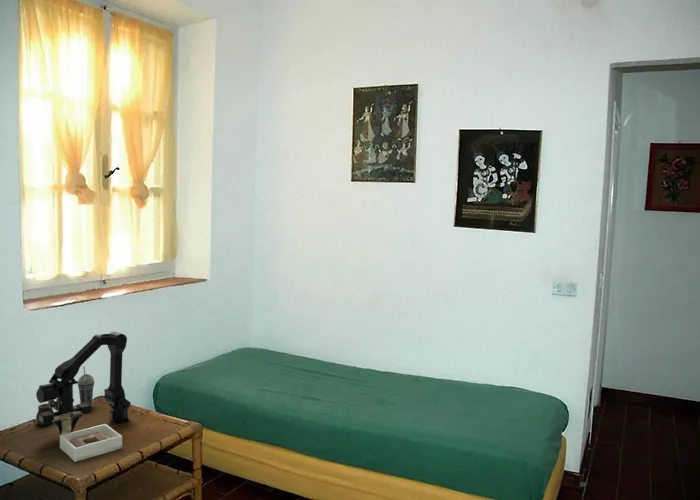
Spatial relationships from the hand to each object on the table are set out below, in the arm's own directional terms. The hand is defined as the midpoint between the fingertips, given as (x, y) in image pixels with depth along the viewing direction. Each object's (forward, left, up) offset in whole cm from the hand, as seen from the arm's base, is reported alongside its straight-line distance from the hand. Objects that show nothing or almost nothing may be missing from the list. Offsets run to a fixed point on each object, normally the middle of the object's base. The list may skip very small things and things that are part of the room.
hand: (65, 433), depth 238 cm
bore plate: (-4, +16, -1) cm, 17 cm away
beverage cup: (-19, -29, -2) cm, 35 cm away
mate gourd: (+1, -21, -2) cm, 21 cm away
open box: (-4, +16, -2) cm, 17 cm away
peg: (0, 0, -2) cm, 2 cm away
